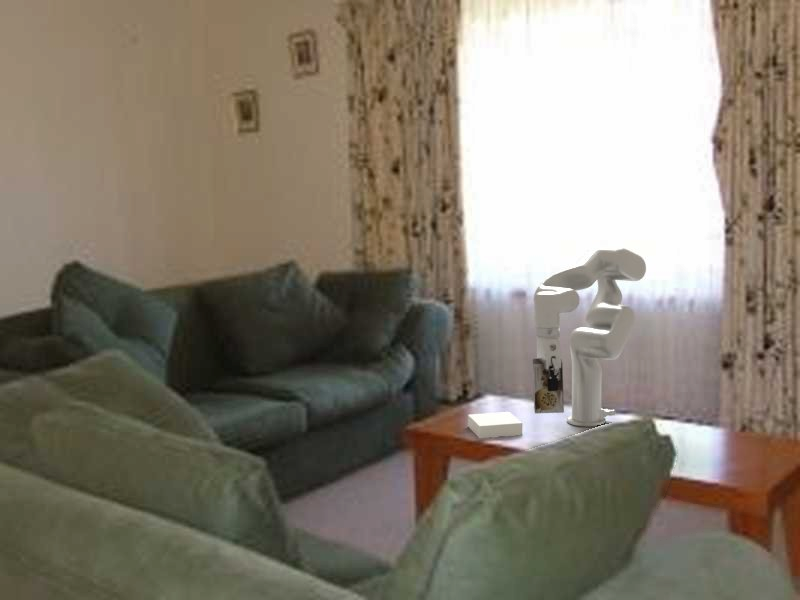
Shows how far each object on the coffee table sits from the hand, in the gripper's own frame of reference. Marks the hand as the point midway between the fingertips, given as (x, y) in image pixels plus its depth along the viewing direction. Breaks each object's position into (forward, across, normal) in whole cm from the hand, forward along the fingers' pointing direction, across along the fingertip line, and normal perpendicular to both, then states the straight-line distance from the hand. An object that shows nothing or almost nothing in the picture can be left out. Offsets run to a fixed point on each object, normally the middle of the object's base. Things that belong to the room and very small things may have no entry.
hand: (548, 387), depth 299 cm
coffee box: (+8, 0, 0) cm, 8 cm away
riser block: (+16, +12, +14) cm, 25 cm away
